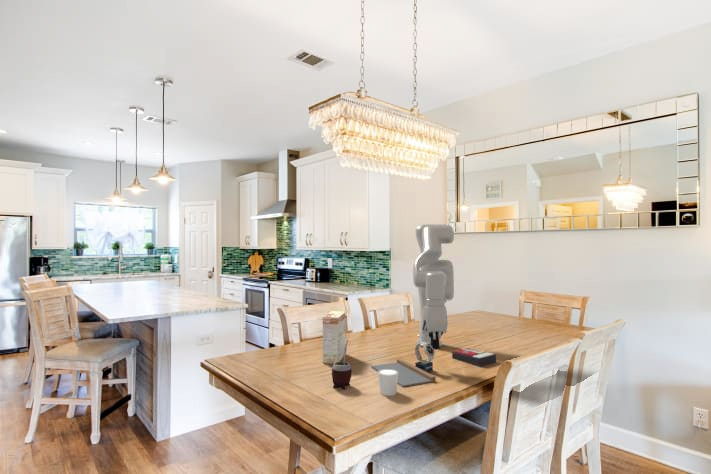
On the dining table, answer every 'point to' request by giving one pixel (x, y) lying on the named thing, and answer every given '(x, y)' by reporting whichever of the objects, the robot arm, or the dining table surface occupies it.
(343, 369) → the mate gourd
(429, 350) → the watch
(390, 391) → the white cup
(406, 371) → the mat
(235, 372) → the dining table surface
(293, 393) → the dining table surface
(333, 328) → the coffeecake box
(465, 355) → the calculator
